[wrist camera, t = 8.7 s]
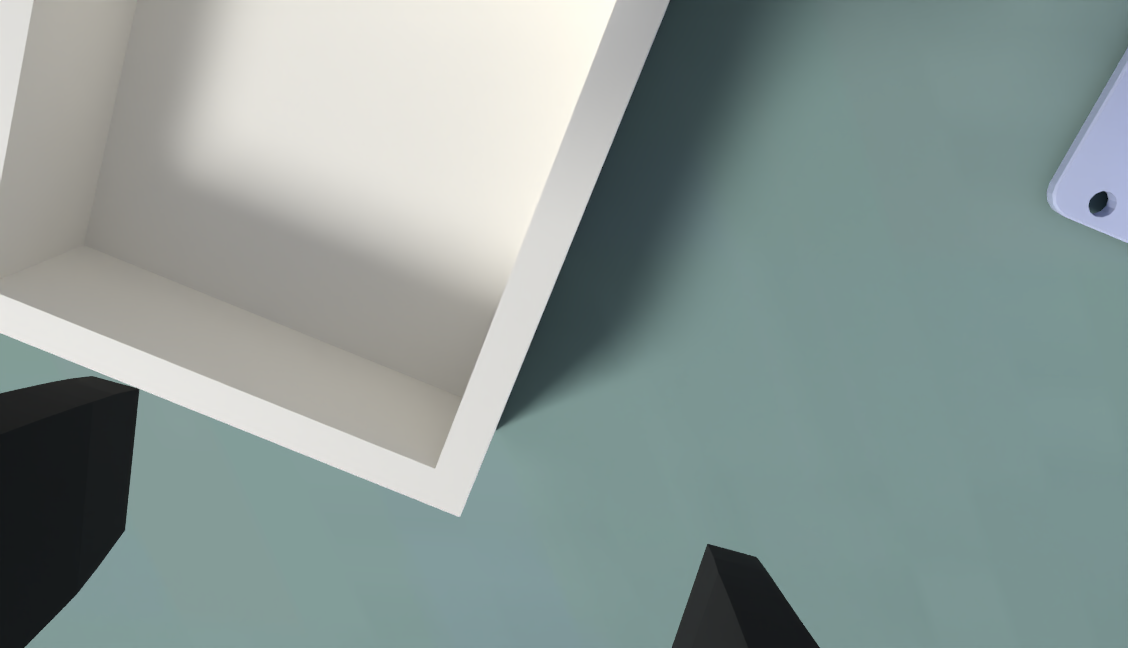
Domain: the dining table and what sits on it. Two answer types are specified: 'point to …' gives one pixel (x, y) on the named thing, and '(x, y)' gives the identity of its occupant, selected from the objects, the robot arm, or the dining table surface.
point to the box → (308, 206)
